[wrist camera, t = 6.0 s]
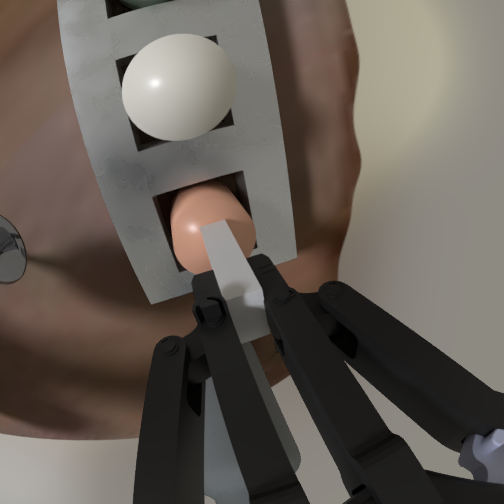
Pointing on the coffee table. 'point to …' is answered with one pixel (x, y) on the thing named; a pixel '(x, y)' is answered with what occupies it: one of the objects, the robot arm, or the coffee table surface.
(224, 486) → the water bottle
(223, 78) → the white egg
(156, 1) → the pale green rounded egg
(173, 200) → the brown egg
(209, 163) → the panel
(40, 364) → the coffee table surface
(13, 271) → the wine glass
